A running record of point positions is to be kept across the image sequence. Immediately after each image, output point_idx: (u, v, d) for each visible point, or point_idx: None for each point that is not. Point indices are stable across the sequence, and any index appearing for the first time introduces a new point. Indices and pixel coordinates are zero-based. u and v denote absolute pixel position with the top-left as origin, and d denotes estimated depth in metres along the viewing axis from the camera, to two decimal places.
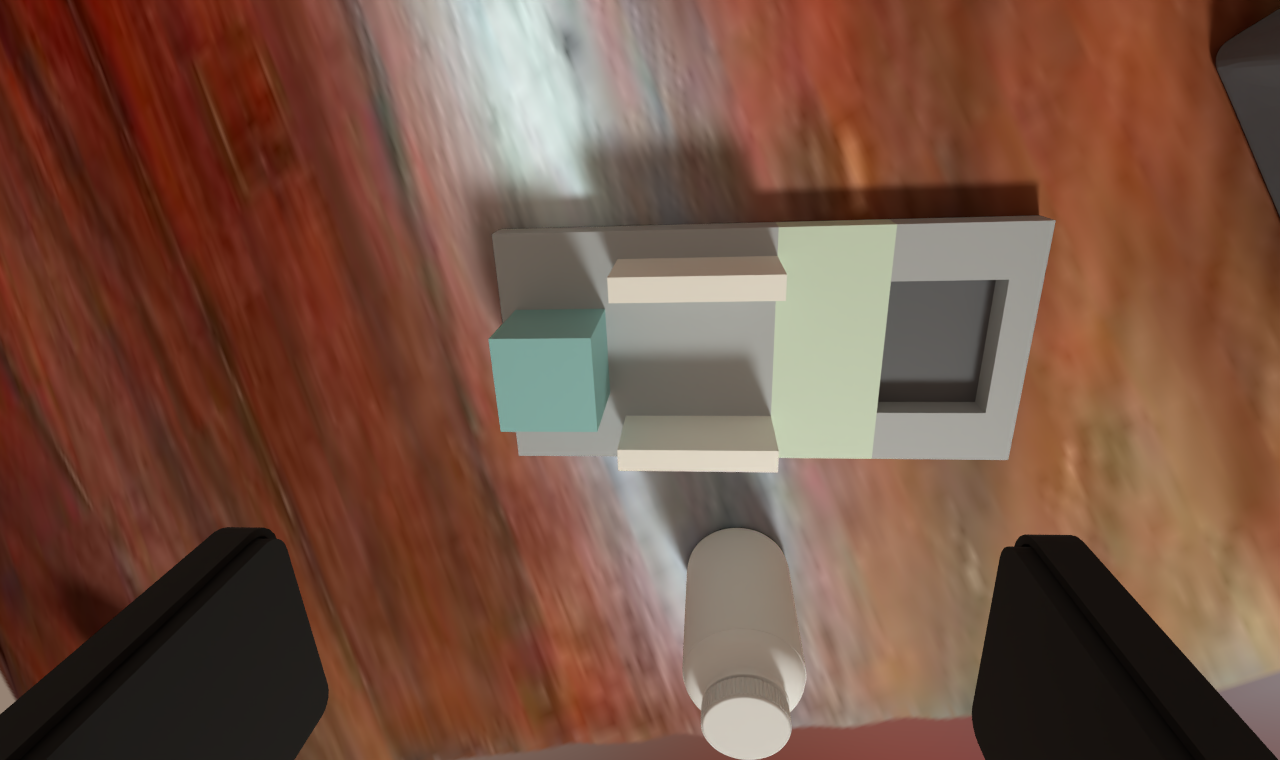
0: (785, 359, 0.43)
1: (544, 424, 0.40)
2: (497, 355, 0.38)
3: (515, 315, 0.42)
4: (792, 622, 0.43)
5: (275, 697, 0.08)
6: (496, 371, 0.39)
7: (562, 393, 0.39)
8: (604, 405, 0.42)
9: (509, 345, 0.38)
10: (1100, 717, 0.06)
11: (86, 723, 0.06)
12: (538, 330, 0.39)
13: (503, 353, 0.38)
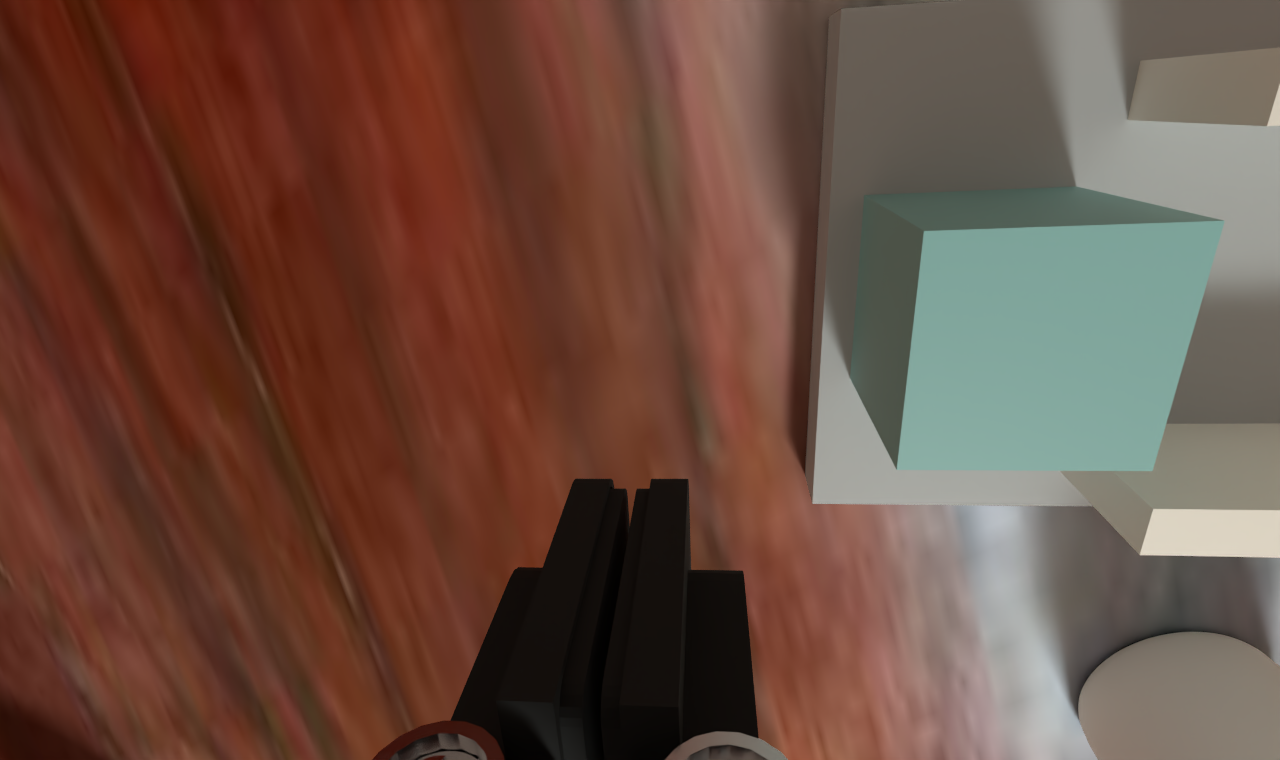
0: None
1: (1016, 453, 0.16)
2: (937, 275, 0.15)
3: (886, 200, 0.18)
4: None
5: None
6: (923, 321, 0.15)
7: (1089, 374, 0.15)
8: None
9: (979, 248, 0.14)
10: None
11: (592, 634, 0.07)
12: (1024, 215, 0.15)
13: (955, 271, 0.15)
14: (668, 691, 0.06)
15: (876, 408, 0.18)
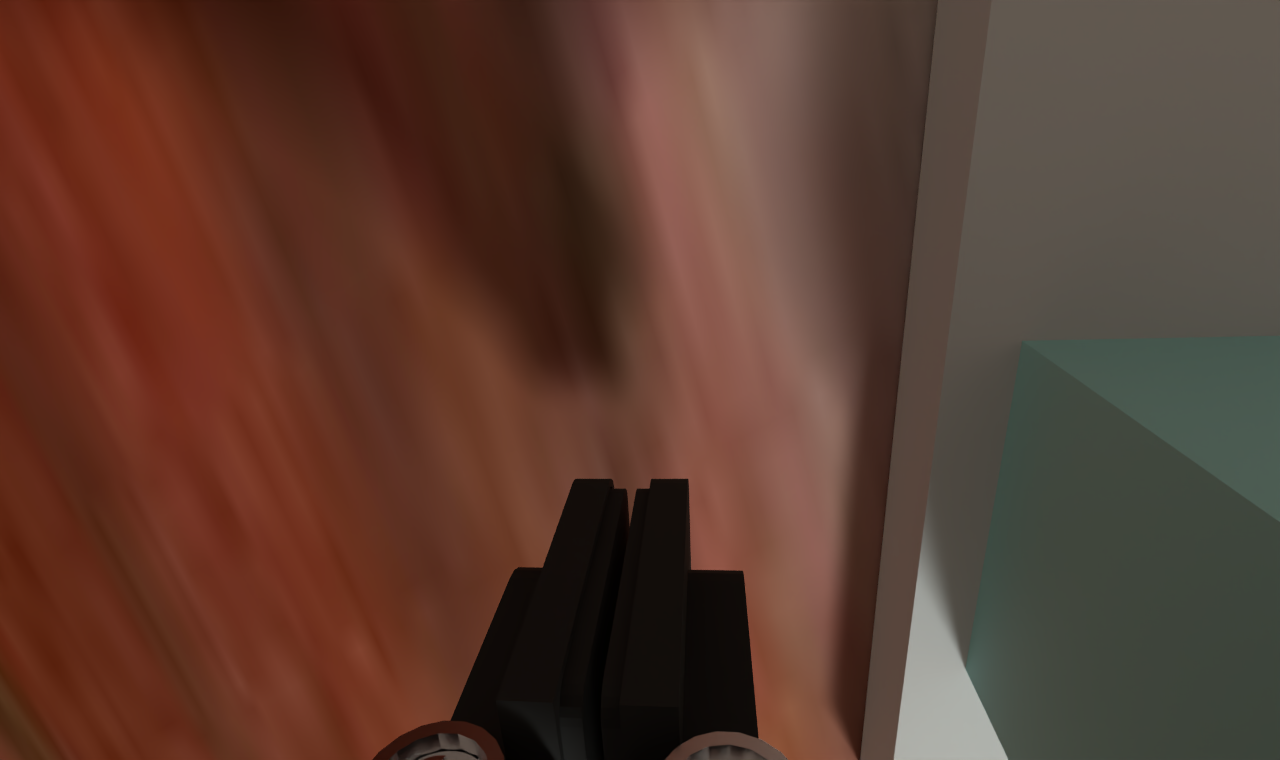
0: None
1: None
2: None
3: (1100, 374, 0.08)
4: None
5: None
6: None
7: None
8: None
9: None
10: None
11: (592, 634, 0.07)
12: None
13: None
14: (668, 692, 0.06)
15: None
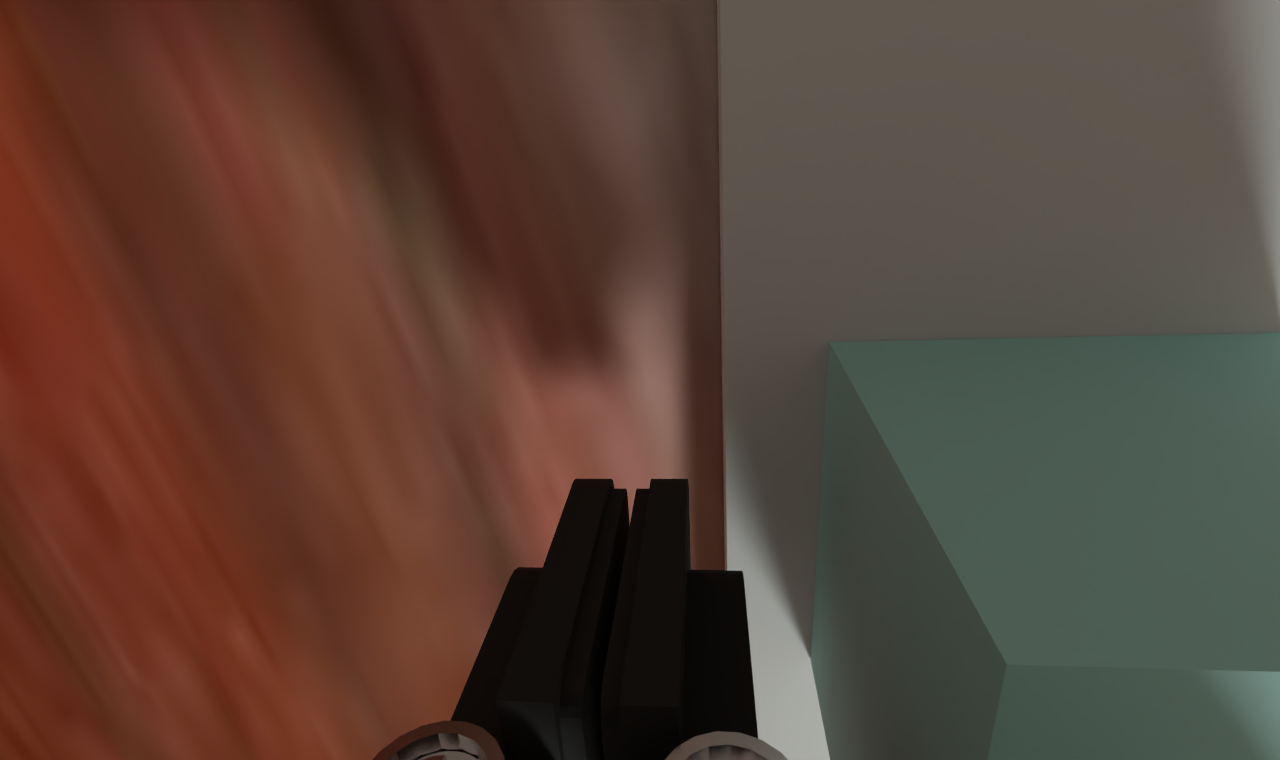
0: None
1: None
2: None
3: (875, 374, 0.08)
4: None
5: None
6: None
7: None
8: None
9: (1203, 724, 0.04)
10: None
11: (591, 634, 0.07)
12: None
13: None
14: (668, 692, 0.06)
15: None
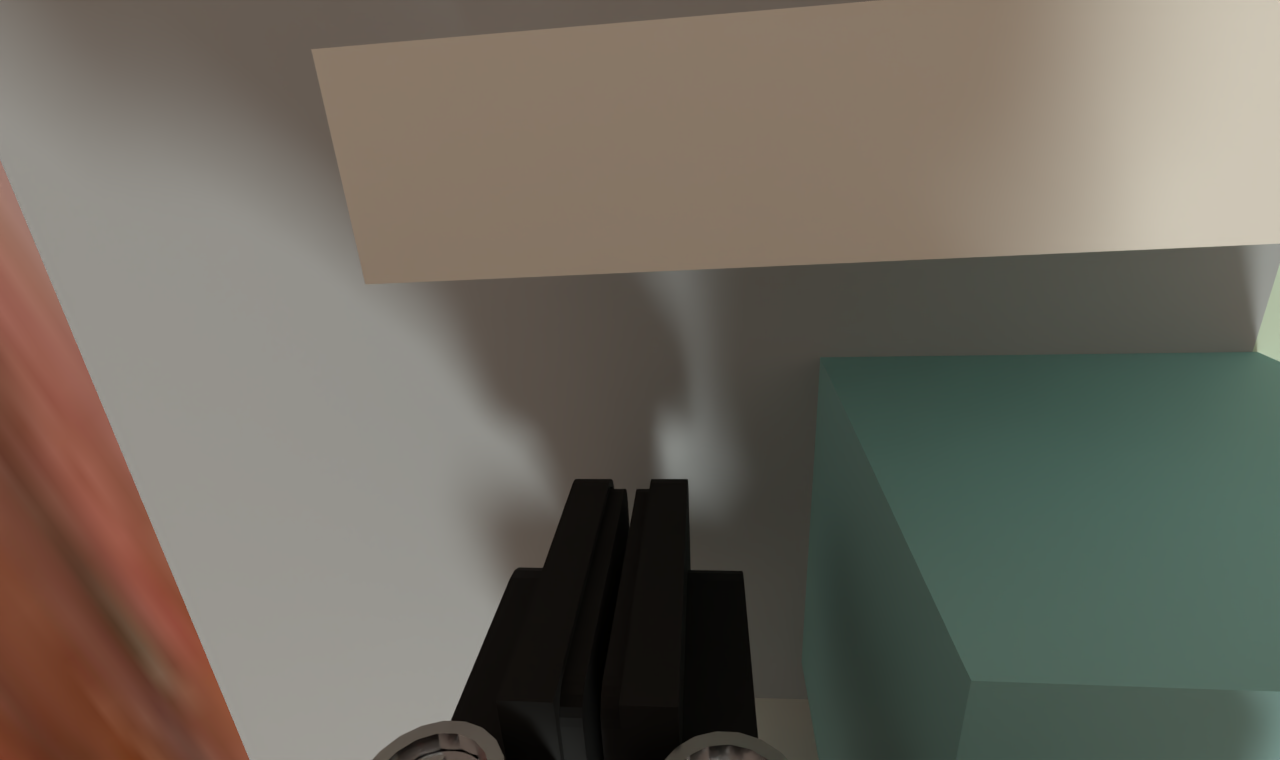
0: None
1: None
2: None
3: (863, 392, 0.09)
4: None
5: None
6: None
7: None
8: None
9: (1151, 736, 0.04)
10: None
11: (592, 634, 0.07)
12: (1247, 552, 0.05)
13: None
14: (668, 692, 0.06)
15: None
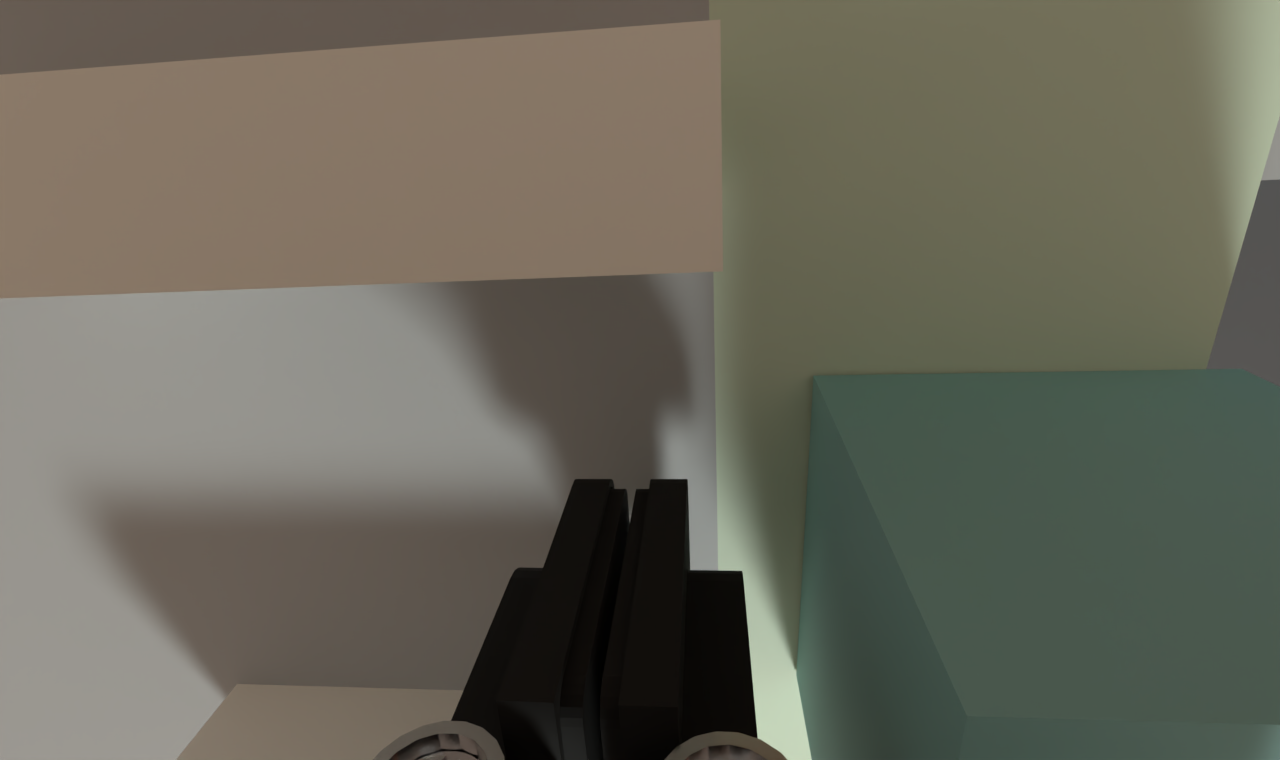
0: (766, 518, 0.11)
1: None
2: None
3: (856, 412, 0.09)
4: None
5: None
6: None
7: None
8: None
9: None
10: None
11: (592, 634, 0.07)
12: (1234, 580, 0.05)
13: None
14: (666, 693, 0.06)
15: None
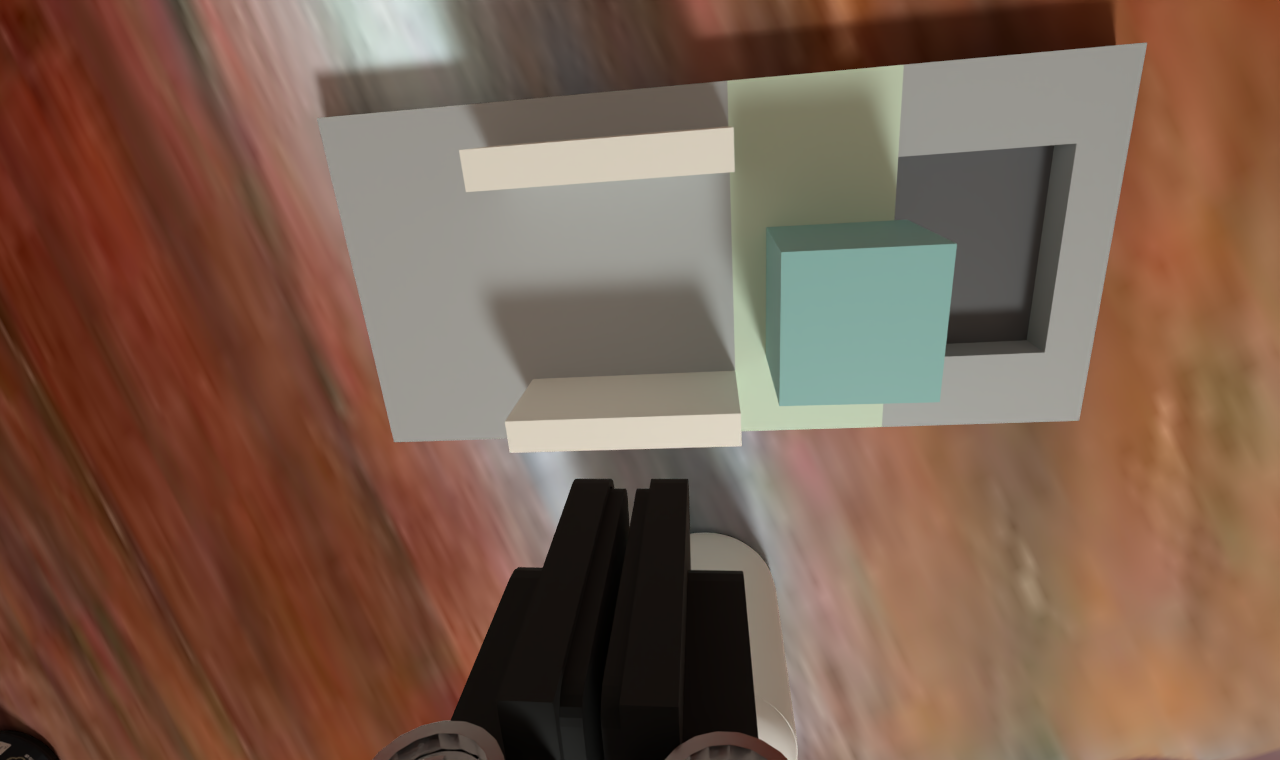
0: (750, 286, 0.30)
1: (853, 392, 0.25)
2: (792, 279, 0.24)
3: (777, 231, 0.28)
4: (775, 667, 0.30)
5: None
6: (786, 308, 0.24)
7: (891, 339, 0.24)
8: None
9: (815, 262, 0.23)
10: None
11: (591, 634, 0.07)
12: (849, 241, 0.24)
13: (802, 276, 0.24)
14: (668, 691, 0.06)
15: (773, 370, 0.27)
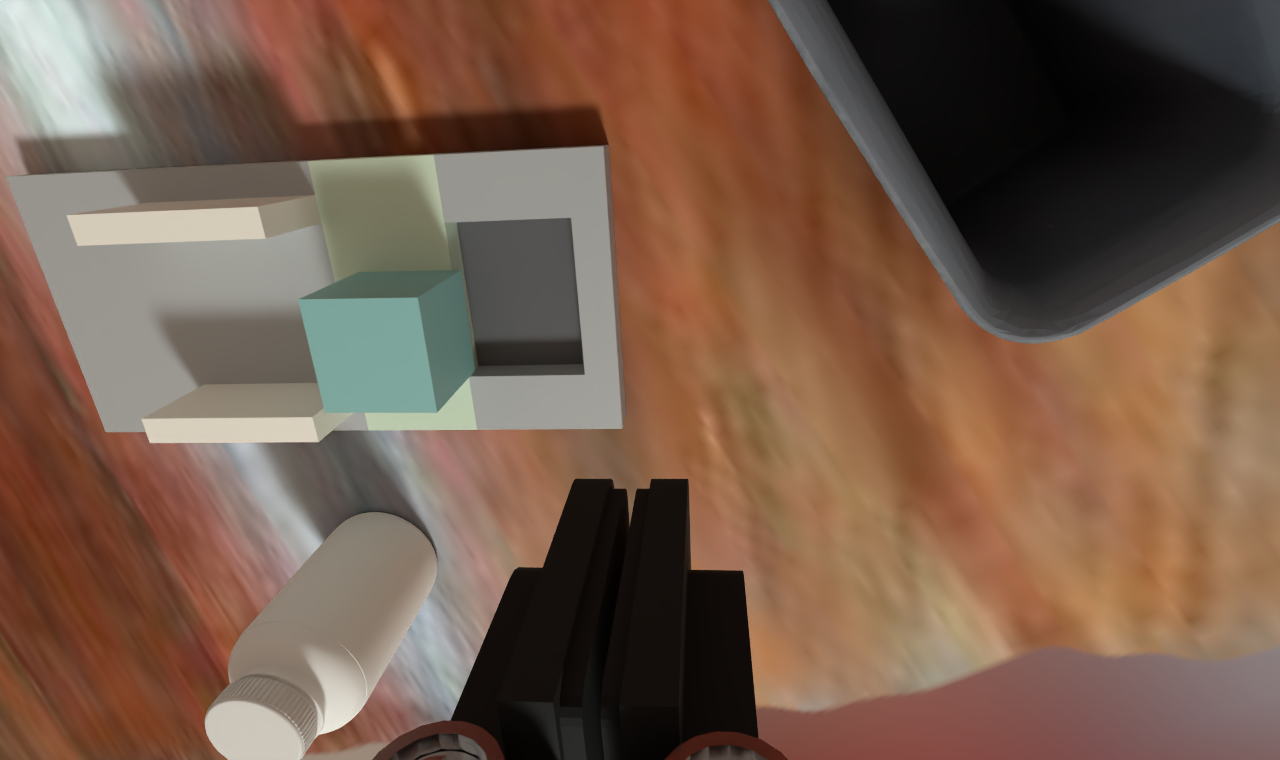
0: None
1: (374, 403, 0.33)
2: (310, 319, 0.32)
3: (352, 277, 0.36)
4: (367, 615, 0.38)
5: None
6: (311, 340, 0.32)
7: (391, 365, 0.32)
8: (458, 383, 0.36)
9: (323, 307, 0.32)
10: None
11: (591, 634, 0.07)
12: (364, 291, 0.33)
13: (317, 317, 0.32)
14: (668, 692, 0.06)
15: None
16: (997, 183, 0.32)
